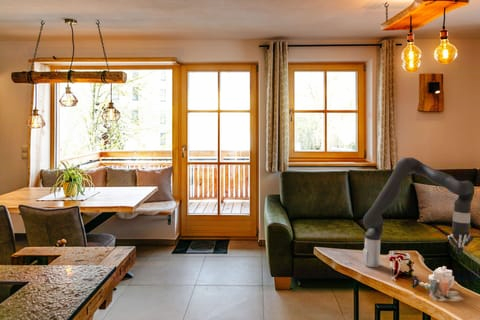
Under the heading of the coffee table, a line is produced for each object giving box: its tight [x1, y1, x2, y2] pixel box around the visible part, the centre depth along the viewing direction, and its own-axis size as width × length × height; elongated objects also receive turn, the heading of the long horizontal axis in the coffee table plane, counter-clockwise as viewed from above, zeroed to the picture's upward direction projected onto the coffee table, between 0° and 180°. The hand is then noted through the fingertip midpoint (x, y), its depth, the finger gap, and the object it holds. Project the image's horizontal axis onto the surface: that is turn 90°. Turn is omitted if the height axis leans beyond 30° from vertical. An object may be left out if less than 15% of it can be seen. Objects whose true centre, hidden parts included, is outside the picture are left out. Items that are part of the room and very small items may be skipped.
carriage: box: [439, 280, 451, 297], centre depth 187 cm, size 3×5×7 cm, turn 2°
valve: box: [411, 275, 431, 294], centre depth 194 cm, size 7×7×12 cm
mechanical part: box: [428, 265, 455, 289], centre depth 198 cm, size 11×12×12 cm
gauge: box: [428, 280, 465, 302], centre depth 186 cm, size 14×6×8 cm, turn 92°
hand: (459, 253), depth 186 cm, fingers closed
